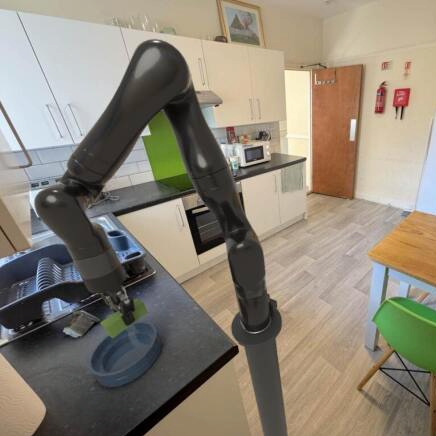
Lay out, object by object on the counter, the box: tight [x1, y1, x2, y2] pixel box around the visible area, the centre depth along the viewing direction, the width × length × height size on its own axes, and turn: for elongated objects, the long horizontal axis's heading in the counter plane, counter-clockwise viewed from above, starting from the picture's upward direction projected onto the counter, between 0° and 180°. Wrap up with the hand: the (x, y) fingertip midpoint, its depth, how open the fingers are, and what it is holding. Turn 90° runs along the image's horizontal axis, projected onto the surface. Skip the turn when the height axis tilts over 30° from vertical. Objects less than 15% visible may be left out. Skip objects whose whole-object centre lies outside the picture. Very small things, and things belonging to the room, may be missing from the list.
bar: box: [100, 298, 149, 338], centre depth 61 cm, size 9×3×4 cm, turn 149°
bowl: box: [87, 320, 162, 388], centre depth 68 cm, size 16×16×6 cm
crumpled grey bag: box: [62, 309, 102, 339], centre depth 78 cm, size 10×7×12 cm
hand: (126, 320), depth 62 cm, fingers closed on bar, 3 cm apart
